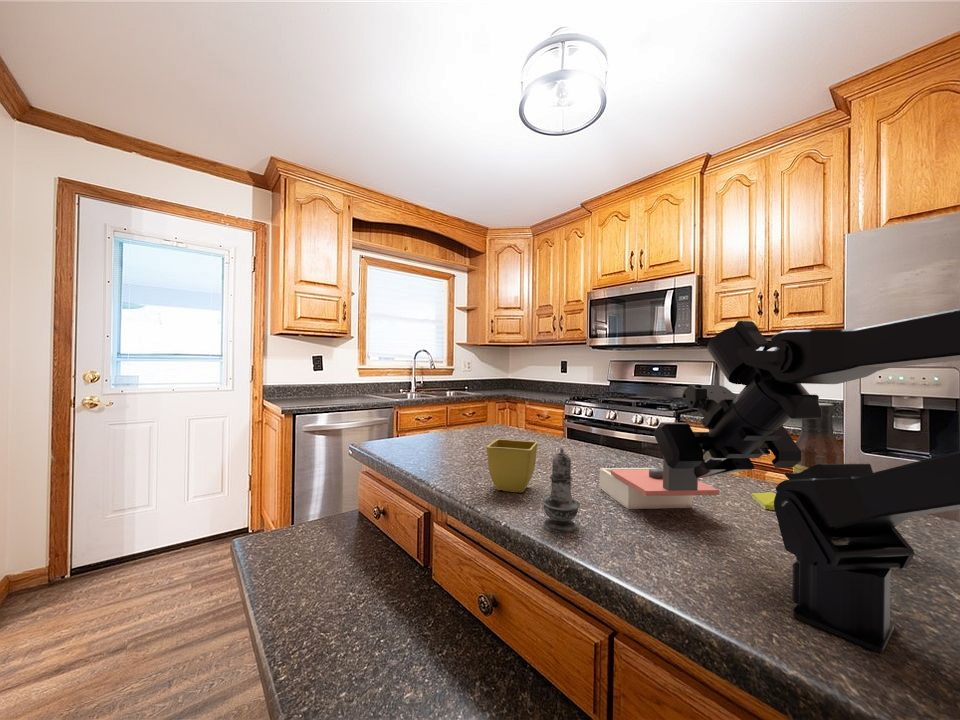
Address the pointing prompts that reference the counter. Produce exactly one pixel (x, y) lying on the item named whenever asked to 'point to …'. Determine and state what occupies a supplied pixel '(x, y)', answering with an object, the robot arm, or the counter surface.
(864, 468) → the robot arm
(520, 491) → the flower pot
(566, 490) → the salt shaker
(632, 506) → the white rectangular box
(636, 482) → the lid
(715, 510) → the counter surface
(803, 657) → the counter surface
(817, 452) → the sauce bottle
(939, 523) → the counter surface
